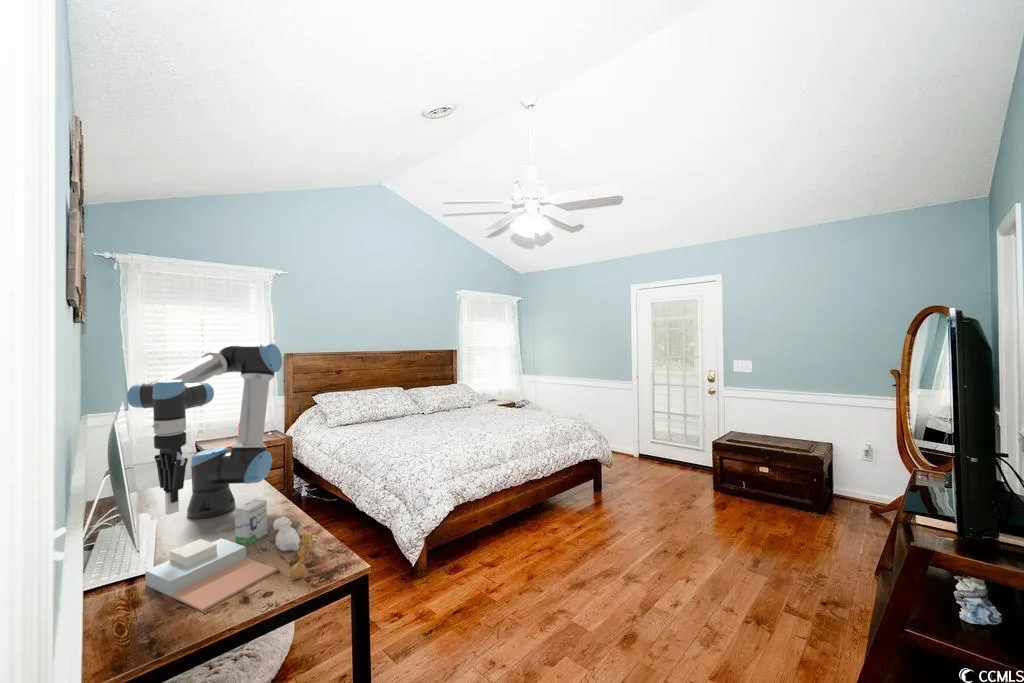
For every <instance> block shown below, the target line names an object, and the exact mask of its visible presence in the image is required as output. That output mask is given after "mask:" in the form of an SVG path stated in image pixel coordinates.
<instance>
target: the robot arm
mask: <svg viewBox="0 0 1024 683" xmlns="http://www.w3.org/2000/svg"><path fill="white" fill-rule="evenodd" d="M282 365H283V357H282V353H281V351H280V348H279V347H278V346H277V345H276V344H274V343H272V342H261V341H260V342H234V343H229V344H226V345H223V346H220V347H217V348H215V349H213V350H210V351H209V352H206V353H204V355H203V356H202V357H201V358H200V359H198V360H195V361H194V362H192V363H190V364H187V365H186V366H185V365H184V367H182V368H179V369H177V370H175V371H173V372H171V373H169V374H166V375H164V376H163V377H161V378H158V379H156V380H154V381H153V382H150V383H145V382H144V383H137V384H134V385H132V386H131V387H130V388H129V389H128V390H127V393H126V394H127V395H126V399H127V402H128V404H129V406H131V407H133V408H139V409H140V408H141V409H153V424H152V425H151V427H152V428H153V433H154V436H153V447H154V449H155V450H159V454H155V455H154V460H155V463H156V467H157V470H156V471H157V474H158V482H159V488H160V489H163V491H164V495H165V496H164V499H165V501H164V502H165V506H164V507H165V515H172V514H176V513H178V512H180V506H179V500H180V499H179V498H180V497H179V490H183V489H184V484H185V477H186V467H187V464H188V460H189V459H188V458H187V457H185V458H184V457H183V451H182V447H183V446H185V445H186V444H187V432H185V431H186V430H187V417H186V410H188V409H193V408H197V407H202V406H205V405H207V404H209V403H210V402H212V400H213V399H214V396H215V391H214V388H213V387H212V385H211V384H210V383H208V382H205V381H207V380H209V379H210V378H212V377H214V376H217V377H218V376H221V375H223V374H226V373H240V377H242V378H243V380H244V382H243V390H242V391H243V392H242V399H241V407H240V415H239V423H238V430H237V431H238V432H237V438H236V443H235V444H233V445H232V446H231V450H230V451H229V448H228V447H226V446H218V447H214V448H209V449H206V450H201V451H199V452H196V453H195V454H194V455H192V457H191V463H190V464H191V465H190V468H191V487H192V488H191V493H192V494H191V497H190V499H189V503H188V506H187V509H186V516H187V518H190V519H196V520H197V519H207V518H214V517H217V516H221V515H223V514H226V513H229V512H230V511H232V510H234V508H236V500H235V497H234V495H233V493H232V490H231V488H230V484H231V485H232V484H246V485H248V484H256V483H261V482H262V481H263V480H264V479H265V478H266V477H267V476H268V474H269V473H270V471H271V467H272V464H273V457H272V453H271V452H270V451H268V450H267V447H268V446H267V445H266V444H265V443H264V434H265V427H266V426H265V425H266V424H265V423H266V417H267V416H266V415H267V408H268V405H267V404H268V396H269V386H270V381H271V380H273V379H274V378H275V373H277V372H279V371H280V370H281V368H282Z"/></svg>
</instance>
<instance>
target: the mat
mask: <svg viewBox="0 0 1024 683" xmlns="http://www.w3.org/2000/svg"><path fill="white" fill-rule="evenodd" d="M276 572H278V568H276V567H274V566H271V565H268V564H264V563H261V562H259V561H256V560H253V559H252V558H248V557H246V558H245V559H243V560H241V561H238V562H236V563H234V564H232V565H230V566H228V567H226V568H224V569H222V570H220V571H218V572H216V573H214V574H212V575H210V576H207V577H205V578H203V579H201V580H199V581H197V582H195V583H193V584H191V585H189V586H187V587H185V588H183V589H181V590H178V591H176V592H174V593H172V594H170V595H171V598H172V599H175V600H177V601H179V602H182V603H183V604H185V605H188V606H190V607H192V608H193V609H195V610H198V611H200V612H204V611H206V610H208V609H210V608H212V607H214V606H216V605H217V604H219V603H221V602H222V601H225V600H226V599H229V598H230V597H232V596H235V595H236V594H237V593H239V592H241V591H243V590H245V589H247V588H249V587H250V586H252V585H255V584H256V583H258V582H259V581H262V580H263V579H265V578H267V577H268V576H271V575H272V574H274V573H276Z"/></svg>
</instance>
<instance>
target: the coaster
mask: <svg viewBox="0 0 1024 683" xmlns="http://www.w3.org/2000/svg"><path fill="white" fill-rule="evenodd" d="M216 553H217V544H214V543H212V542H211V541H207V540H204V539H202V538H199V539H196V540H194V541H192V542H190V543H187V544H183V545H182V546H180V547H177V548H175V549H172V550H170V551H169V554H170V556H169V557H170V560H172V561H174V562H177V563H179V564H182V565H184V566H189V565H191V564H193V563H196V562H198V561H200V560H202V559H205V558H207V557H209V556H211V555H214V554H216Z"/></svg>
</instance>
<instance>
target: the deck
mask: <svg viewBox="0 0 1024 683" xmlns="http://www.w3.org/2000/svg"><path fill="white" fill-rule="evenodd" d="M211 543H214V544H217V553H216V554H214V555H211V556H209V557H207V558H205V559H202V560H200V561H198V562H196V563H193V564H191V565H189V566H184V565H182V564H179V563H177V562H174V561H172V560H167V561H165V562H162V563H160V564H158V565H155V566H153V567H150V568H148V569H145V571H144V572H145V573H144V574H145V585H146V586H147V587H149V588H151V589H154V590H156V591H157V592H160V593H162V594H164V595H166V596H168V597H171V595H170V594H172V593H174V592H176V591H178V590H181V589H183V588H185V587H187V586H189V585H191V584H193V583H195V582H197V581H199V580H201V579H203V578H205V577H207V576H210V575H212V574H214V573H216V572H218V571H220V570H222V569H224V568H226V567H228V566H230V565H232V564H234V563H236V562H238V561H241V560H243V559H245V558H247V547H246V545H240V544H237V543H235V542H233V541H231V540H227V539H224V538H222V537H221V538H219V539H216V540H214V541H212V542H211ZM171 598H172V597H171Z"/></svg>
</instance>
